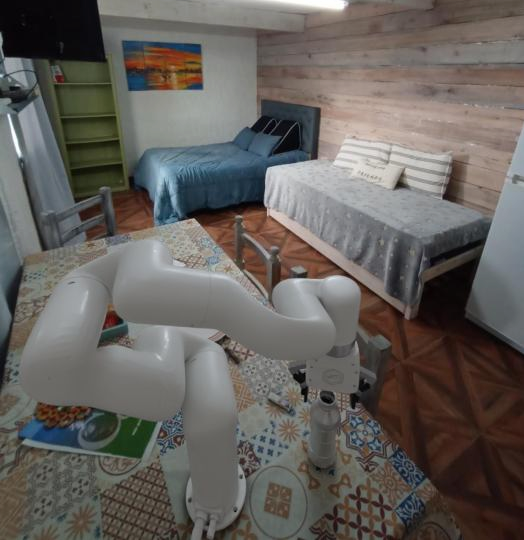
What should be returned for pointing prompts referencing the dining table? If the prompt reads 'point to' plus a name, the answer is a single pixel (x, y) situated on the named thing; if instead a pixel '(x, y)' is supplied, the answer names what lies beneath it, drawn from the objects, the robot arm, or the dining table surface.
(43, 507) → the dining table surface
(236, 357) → the walnut chopstick
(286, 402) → the granola bar
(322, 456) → the plastic bottle
